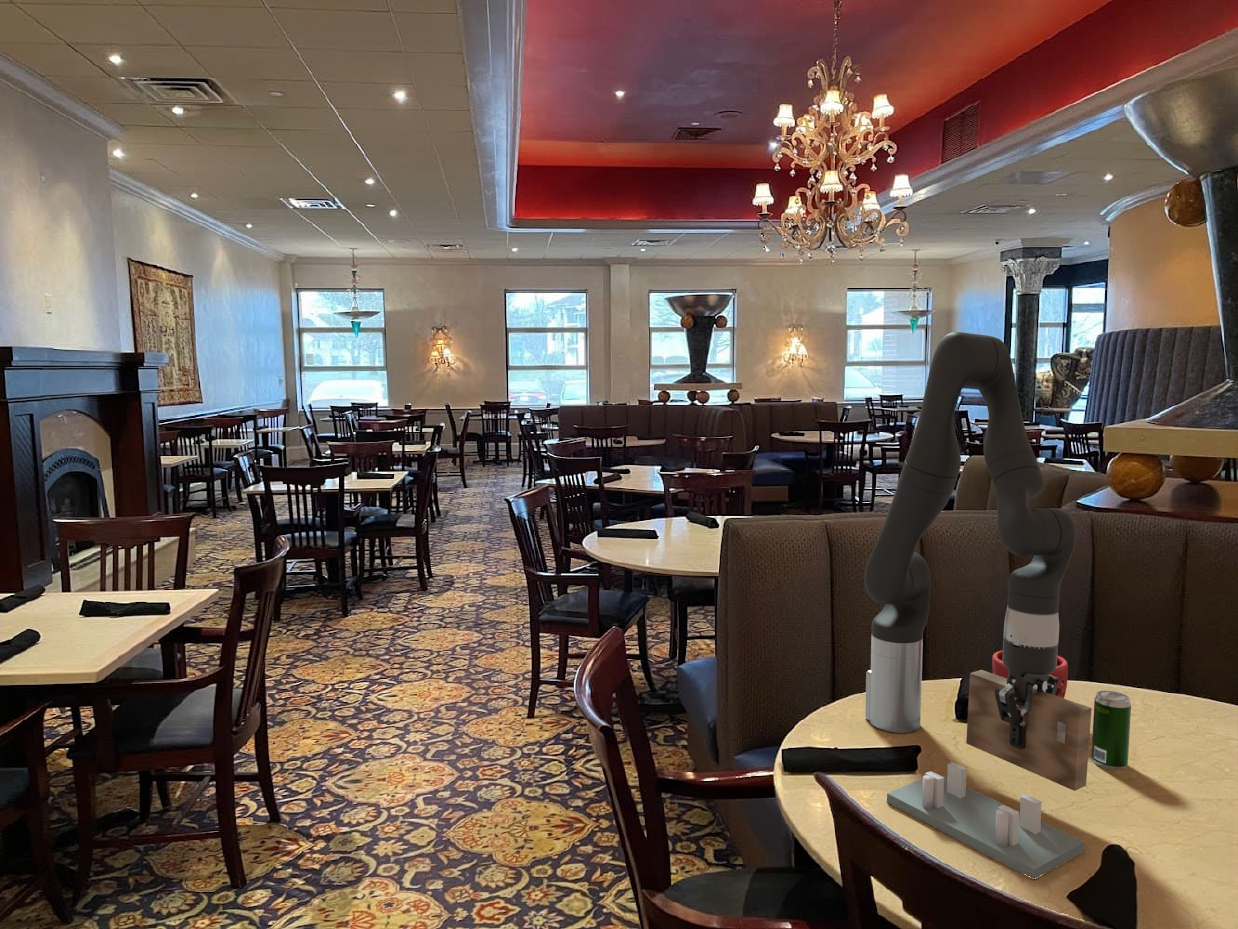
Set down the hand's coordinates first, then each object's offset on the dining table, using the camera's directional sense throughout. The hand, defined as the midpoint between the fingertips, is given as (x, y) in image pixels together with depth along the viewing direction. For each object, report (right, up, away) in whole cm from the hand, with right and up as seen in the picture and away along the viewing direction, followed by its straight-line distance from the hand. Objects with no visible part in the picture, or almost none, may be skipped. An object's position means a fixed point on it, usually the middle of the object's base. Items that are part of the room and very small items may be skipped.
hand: (1024, 743), depth 129 cm
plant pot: (+16, -6, +32) cm, 36 cm away
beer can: (+21, -8, +12) cm, 25 cm away
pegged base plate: (-10, -10, -7) cm, 16 cm away
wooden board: (0, -3, 0) cm, 3 cm away
